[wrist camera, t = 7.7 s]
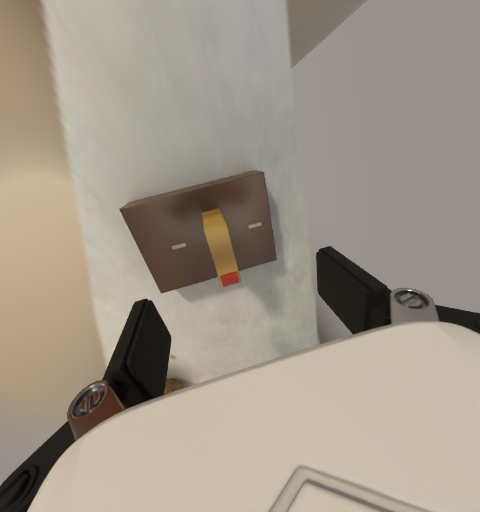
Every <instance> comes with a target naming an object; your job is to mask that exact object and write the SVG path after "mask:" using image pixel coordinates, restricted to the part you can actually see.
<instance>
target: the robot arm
mask: <svg viewBox="0 0 480 512" xmlns="http://www.w3.org/2000/svg"><path fill="white" fill-rule="evenodd" d="M316 261H317V284H318V285H317V287H318V293H319V295H320V296H321V298H322V299H323V300H324V301H325V302H326V303H327V305H328V306H329V307H330V308H331V309H332V310H333V312H334V313H335V314H336V315H337V316H338V317H339V318H340V320H341V321H342V322H343V323H344V324H345V326H346V327H347V328H348V329H349V330H350V331H351V333H352V334H353V335H350V336H347V337H343V338H340V339H337V340H334V341H331V342H327V343H324V344H321V345H318V346H315V347H311V348H308V349H305V350H302V351H299V352H295V353H292V354H289V355H286V356H283V357H280V358H276V359H273V360H270V361H267V362H264V363H261V364H258V365H254V366H251V367H248V368H245V369H242V370H239V371H236V372H233V373H229V374H226V375H223V376H220V377H217V378H214V379H211V380H208V381H205V382H202V383H199V384H196V385H193V386H189V387H186V388H183V389H180V390H177V391H175V392H172V393H169V394H166V395H164V391H165V384H166V376H167V369H168V361H169V354H170V347H171V335H170V333H169V331H168V329H167V327H166V326H165V324H164V322H163V320H162V318H161V316H160V315H159V313H158V311H157V309H156V307H155V305H154V304H153V302H152V301H151V300H148V299H143V300H140V301H136V302H135V303H134V305H133V307H132V309H131V312H130V314H129V317H128V319H127V321H126V324H125V326H124V329H123V331H122V334H121V336H120V338H119V341H118V343H117V345H116V348H115V350H114V353H113V355H112V358H111V360H110V362H109V365H108V367H107V370H106V372H105V375H104V377H103V379H102V380H100V381H96V382H94V383H92V384H90V385H88V386H87V387H86V388H84V389H83V390H82V391H81V392H80V393H79V394H78V395H77V396H76V397H75V398H74V400H73V401H72V403H71V405H70V406H69V409H68V412H67V418H68V421H67V422H66V423H65V424H64V425H63V426H62V427H61V428H60V429H59V430H58V431H57V432H56V433H55V434H53V435H52V436H51V437H50V438H49V439H48V440H47V441H46V442H45V443H44V444H43V445H42V446H41V447H39V448H38V449H37V450H36V451H35V452H34V453H33V454H32V455H31V456H30V457H29V458H28V459H27V460H26V461H25V462H23V463H22V464H21V465H20V466H19V467H18V468H17V469H16V470H15V471H14V472H13V473H12V474H11V475H10V476H9V477H8V478H7V479H6V480H5V481H4V482H3V483H2V485H1V486H0V512H480V313H475V312H470V311H465V310H459V309H454V308H448V307H443V306H438V305H435V303H434V301H433V299H432V298H431V297H430V296H429V295H427V294H425V293H423V292H421V291H418V290H416V289H411V288H398V289H395V290H393V291H391V290H390V289H388V288H387V286H386V285H384V284H383V283H382V282H380V281H379V280H377V279H376V278H375V277H373V276H372V275H370V274H369V273H367V272H366V271H365V270H363V269H362V268H360V267H359V266H358V265H356V264H355V263H353V262H352V261H351V260H349V259H348V258H346V257H345V256H344V255H342V254H341V253H339V252H338V251H336V250H335V249H334V248H332V247H331V246H328V247H325V248H321V249H319V252H317V253H316Z"/></svg>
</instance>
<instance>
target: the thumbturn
mask: <svg viewBox="0 0 480 512" xmlns="http://www.w3.org/2000/svg"><path fill="white" fill-rule="evenodd" d="M202 219H203V227H204V232H205V236H206V239H207V242H208V245H209V248H210V252H211V255H212V258H213V261H214V265H215V268H216V271H217V274H218V277H219V281H220V284H221V287H225V286H228V285H232V284H235V283H239V282H241V279H240V275H239V271H238V267H237V263H236V259H235V255H234V251H233V247H232V243H231V239H230V235H229V231H228V227H227V224H226V222H225V220H224V218H223V215H222V213H221V211H220V209H219V208H218V209H214V210H210V211H207V212H203V213H202Z"/></svg>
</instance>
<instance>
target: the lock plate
mask: <svg viewBox="0 0 480 512" xmlns="http://www.w3.org/2000/svg"><path fill="white" fill-rule="evenodd" d="M218 208H219V209H220V211H221V213H222V215H223V218H224V220H225V222H226V224H227V227H228V231H229V235H230V239H231V243H232V247H233V251H234V255H235V259H236V263H237V267H238V271H240V270H243V269H247V268H250V267H253V266H257V265H260V264H264V263H267V262H271V261H274V260H277V258H276V251H275V245H274V238H273V231H272V224H271V218H270V211H269V204H268V198H267V191H266V184H265V178H264V172H260V171H256V170H255V171H251V172H247V173H243V174H239V175H235V176H231V177H227V178H223V179H219V180H215V181H211V182H207V183H203V184H200V185H196V186H192V187H188V188H184V189H180V190H176V191H172V192H168V193H164V194H160V195H156V196H152V197H148V198H145V199H141V200H137V201H133V202H129V203H127V204H126V205H125V206H123V207H122V208H120V211H121V213H122V215H123V217H124V220H125V222H126V224H127V226H128V228H129V230H130V232H131V234H132V236H133V238H134V240H135V242H136V244H137V246H138V248H139V250H140V252H141V254H142V256H143V258H144V260H145V262H146V264H147V266H148V268H149V270H150V272H151V274H152V276H153V278H154V280H155V282H156V284H157V286H158V288H159V290H160V292H161V293H164V292H168V291H171V290H175V289H178V288H182V287H185V286H188V285H192V284H195V283H199V282H202V281H206V280H209V279H212V278H216V277H218V274H217V271H216V268H215V265H214V261H213V258H212V255H211V252H210V248H209V245H208V242H207V239H206V236H205V232H204V227H203V219H202V213H203V212H207V211H210V210H214V209H218Z"/></svg>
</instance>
